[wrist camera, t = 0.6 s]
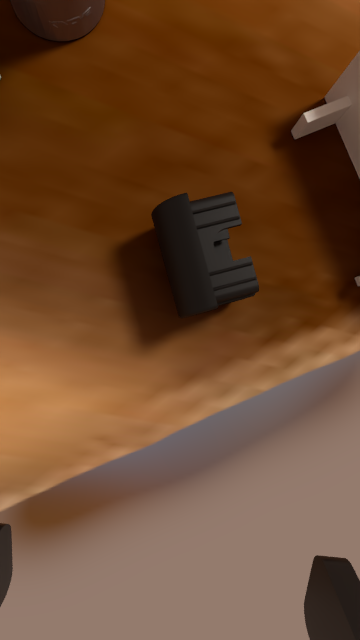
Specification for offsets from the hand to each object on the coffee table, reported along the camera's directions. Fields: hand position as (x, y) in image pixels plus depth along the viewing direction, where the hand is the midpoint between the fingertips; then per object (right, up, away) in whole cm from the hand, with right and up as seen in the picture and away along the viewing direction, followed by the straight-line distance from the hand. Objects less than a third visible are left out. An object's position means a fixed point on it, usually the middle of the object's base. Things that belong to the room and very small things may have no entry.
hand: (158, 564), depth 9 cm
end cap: (+2, +12, +26) cm, 29 cm away
